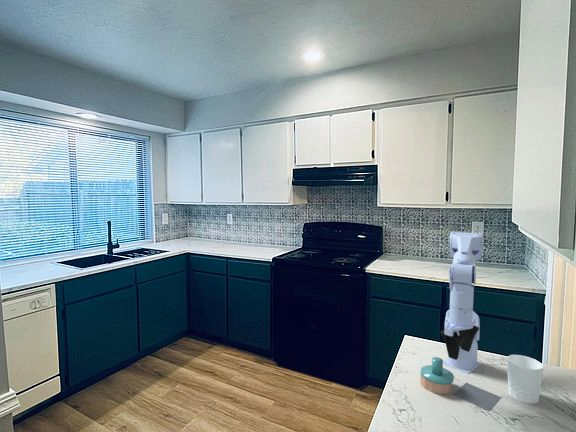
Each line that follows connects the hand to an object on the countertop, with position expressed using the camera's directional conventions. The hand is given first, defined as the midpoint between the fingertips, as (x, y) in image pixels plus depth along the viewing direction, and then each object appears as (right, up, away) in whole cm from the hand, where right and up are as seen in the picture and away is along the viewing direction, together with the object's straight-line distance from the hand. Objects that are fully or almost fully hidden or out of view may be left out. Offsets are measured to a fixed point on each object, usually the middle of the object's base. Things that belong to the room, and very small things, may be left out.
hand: (459, 354), depth 91 cm
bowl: (-6, -10, +2) cm, 12 cm away
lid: (-6, -7, +2) cm, 9 cm away
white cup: (+16, -11, -3) cm, 20 cm away
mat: (+3, -11, -3) cm, 11 cm away
